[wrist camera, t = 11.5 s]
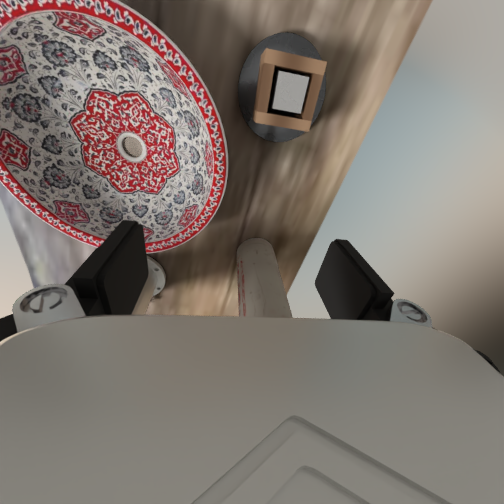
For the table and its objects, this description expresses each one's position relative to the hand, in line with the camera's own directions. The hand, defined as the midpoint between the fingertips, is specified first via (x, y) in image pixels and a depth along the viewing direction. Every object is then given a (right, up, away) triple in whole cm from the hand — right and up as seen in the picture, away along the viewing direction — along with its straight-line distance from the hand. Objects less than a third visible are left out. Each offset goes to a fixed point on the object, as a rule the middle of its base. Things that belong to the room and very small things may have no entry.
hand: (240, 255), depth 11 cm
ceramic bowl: (-18, +16, +23) cm, 33 cm away
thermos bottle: (+1, 0, +36) cm, 36 cm away
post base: (+5, +23, +20) cm, 31 cm away
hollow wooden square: (+5, +22, +19) cm, 29 cm away
